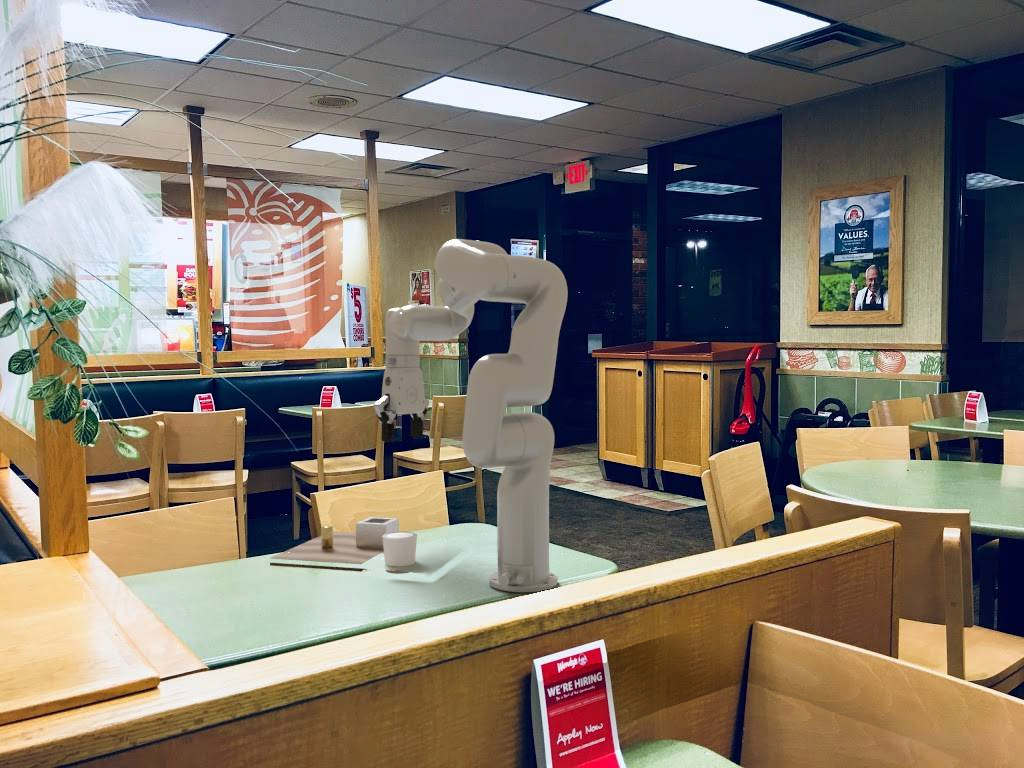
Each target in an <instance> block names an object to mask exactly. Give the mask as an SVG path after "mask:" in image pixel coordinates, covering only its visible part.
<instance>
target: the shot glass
mask: <svg viewBox="0 0 1024 768" xmlns="http://www.w3.org/2000/svg"><path fill="white" fill-rule="evenodd" d="M382 537H383V547H384V551H383V556H384V564H385V565H387V566H390V567H408V566H411V565H414V564H415V563H416V553H417V540H418V534H417V533H416V532H411V531H399V532H391V533H387V534H384V535H383V536H382ZM385 572H386V573H389V574H395V575H397V574H398V575H400V574H401V575H402V574H409V573H410V571H409V570H408V571H404V570H391V569H389V570H388V569H385Z"/></svg>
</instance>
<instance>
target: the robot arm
mask: <svg viewBox="0 0 1024 768" xmlns="http://www.w3.org/2000/svg"><path fill="white" fill-rule="evenodd" d="M435 271H436V273H437V276H438V278H439V279H438V282H437V287H436V288H437V293H438V297H439V299H440V300H441V302H442V303H443V304H444V306H435V305H433V306H432V305H404V306H402V307H393V308H390V309H388V310H387V311H386V313H385V359H384V363H385V369H384V372H383V378H382V380H383V381H382V387H381V398H380V399H379V400H377V401H376V402H374V404H373V407H374V410H375V412H376V417H377V418H378V419H379V423H380V424H381V441H382V442H387V443H388V442H390V443H392V442H394V441H395V423H393V421H394V420H395V418H396V415H401V416H402V415H410V417H411V418H412V419H410V437H411V438H415V439H416V438H417V439H421V438H424V421H425V418H426V415H427V412H428V407H429V405H430V400H429V399H427V398H426V397H425V396H426V395H425V394H426V393H425V392H426V391H425V383H424V382H425V381H424V376H423V371H422V369H420V354H421V353H420V346H421V345H420V342H421V341H423V342H424V341H428V342H429V341H434V342H435V341H437V342H438V341H439V342H446V341H450V340H452V339H454V338H456V337H458V336H459V335H460V334H462V333H463V332H464V331H465V330H466V329H468V327H469V326H470V325H471V323H472V320H473V317H474V314H475V304H476V303H478V301H483V302H484V301H485V302H494V303H497V302H498V303H515V304H516V303H517V304H518V303H519V304H524V305H525V308H523V310H522V311H521V312H520V313H519V314H518V316H517V318H516V320H515V322H514V324H513V327H512V329H511V334H510V343H509V349H508V352H507V353H491V354H486V355H483V356H481V358H479V359H478V360H477V361H476V362H475V363H474V365H473V366H472V368H471V370H470V373H469V376H468V380H467V386H466V387H467V388H466V396H465V405H464V417H463V424H462V425H463V428H462V438H461V439H462V449H463V453H464V456H465V458H466V460H467V461H468V462H469V464H471V465H472V466H474V467H476V468H479V469H491V468H493V469H494V468H499V467H500V468H501V467H502V468H503V467H504V468H503V470H502V473H501V475H500V477H499V481H498V484H497V493H496V495H497V499H496V502H497V503H496V507H497V509H496V510H497V511H496V512H497V513H496V518H497V520H496V521H497V522H496V523H497V528H496V529H497V543H496V544H497V572H494V573H492V574H491V575H490V576H489V578H488V579H489V581H488V582H489V585H490V586H491V587H492V588H494V589H496V590H499V591H504V592H510V593H538V592H543V591H542V590H544V591H547V589H548V590H550V589H553V588H555V587H556V586H557V584H558V576H557V575H556V574H555V573H554V572H552V571H550V474H551V466H552V465H551V464H552V457H553V453H554V446H555V431H554V428H553V425H552V424H551V422H550V420H548V419H547V418H546V417H545V416H544V415H542V414H539V413H536V412H531V411H530V412H529V411H517V412H515V411H514V412H506V408H520V407H534V406H539V405H543V404H545V402H547V401H548V400H549V399H550V396H551V394H552V390H553V385H554V380H555V379H554V378H555V369H556V361H557V355H558V347H559V337H560V330H561V328H562V327H561V326H562V322H563V319H564V316H565V312H566V307H567V303H568V295H569V294H568V285H567V279H566V278H565V275H564V273H563V272H562V270H561V268H559V267H558V266H557V265H556V264H555V263H554V262H551V261H549V260H545V259H543V258H539V257H538V258H537V257H534V256H533V257H532V256H525V255H517V254H516V255H515V254H508V253H507V252H506V250H505V249H504V248H503V247H501V246H500V245H498V244H496V243H492V242H488V241H481V240H472V239H463V238H454V239H450V240H449V241H446V242H445V243H444V244H443V245H442V246H440V248H439V250H438V252H437V255H436V258H435Z"/></svg>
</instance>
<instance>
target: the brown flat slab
mask: <svg viewBox="0 0 1024 768" xmlns="http://www.w3.org/2000/svg"><path fill="white" fill-rule="evenodd" d="M288 552H290V553H288ZM381 553H384V548H376V547H359V546H356V532H349V531H348V532H346V531H345V532H344V531H333V548H330V549H322V548H321V535H319V536H318V537H315V538H313V539H310V540H307V541H306V542H303V543H301V544H299V545H297V546H294V547H292V548H289V549H288V550H285V551H283V552H281V553H279V554H275V555H274V556H271V557H270V559H273V560H274V559H276V560H288V561H289V560H290V561H305V562H307V561H308V562H320V563H321V562H323V563H335V564H336V563H338V564H353V565H354V564H356V565H362V564H364V563H365V562H368V561H369V560H371V559H372V558H374V557H376V556H378V555H380V554H381ZM269 566H273V567H289V568H301V569H302V568H305V569H317V570H331V571H332V570H333V571H335V570H336V571H348V572H349V571H350V572H363V571H365V568H361V567H360V568H358V567H346V566H345V567H344V566H343V567H342V566H329V565H328V566H327V565H316V564H315V565H312V564H297V563H285V562H284V563H281V562H269Z"/></svg>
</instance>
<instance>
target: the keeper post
mask: <svg viewBox="0 0 1024 768" xmlns="http://www.w3.org/2000/svg"><path fill="white" fill-rule="evenodd" d="M333 530H334V529H333V525H322V526H320V534H321V535H320V536H321V548H322V549H330V548H333V532H334V531H333Z"/></svg>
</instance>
